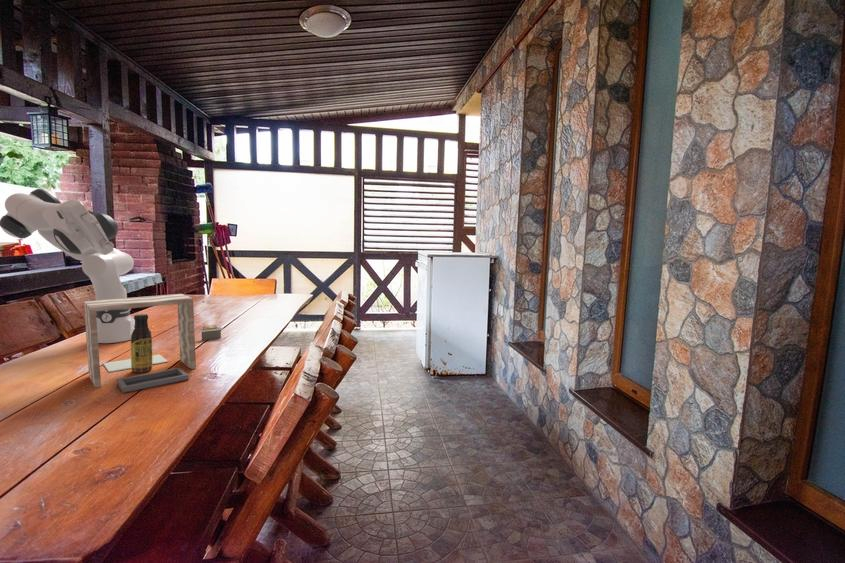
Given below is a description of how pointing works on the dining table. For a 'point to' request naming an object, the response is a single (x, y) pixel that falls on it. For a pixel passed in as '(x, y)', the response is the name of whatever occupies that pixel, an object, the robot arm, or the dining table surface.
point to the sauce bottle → (141, 345)
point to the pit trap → (151, 380)
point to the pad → (127, 363)
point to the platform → (211, 332)
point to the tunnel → (135, 302)
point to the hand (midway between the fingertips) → (103, 234)
